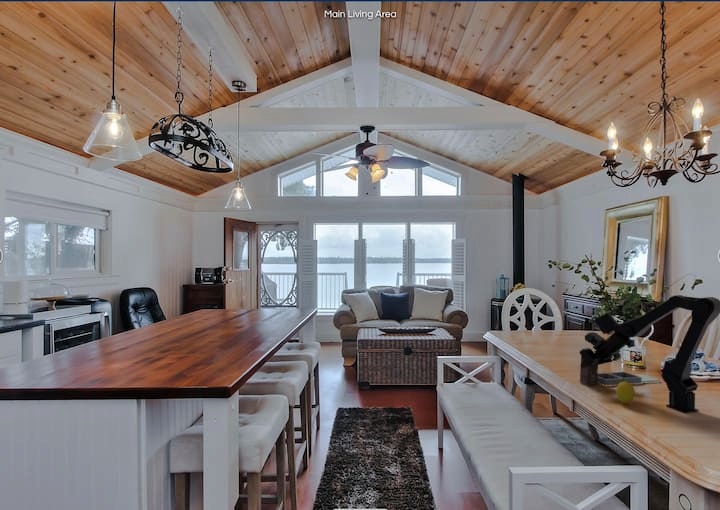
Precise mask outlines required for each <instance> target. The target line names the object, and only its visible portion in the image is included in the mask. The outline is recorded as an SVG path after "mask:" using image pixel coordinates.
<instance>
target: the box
mask: <svg viewBox="0 0 720 510" xmlns="http://www.w3.org/2000/svg"><path fill="white" fill-rule="evenodd" d="M583 359H584V358H583V357H582V356H581V355H580V364H581V363H582V361H583ZM596 364H597V365H593V366H589V367H585V368H581V367H580V370H579V371H580V373H579V383H580V384H583V385H586V386H591V385H595V384H598V383H597V380H598V373H599V365H598V363H596Z"/></svg>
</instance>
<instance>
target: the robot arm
mask: <svg viewBox="0 0 720 510" xmlns="http://www.w3.org/2000/svg"><path fill="white" fill-rule="evenodd" d="M678 309H683V310H687V311H691V313H690V314H691V322H690V325H689V326H688V329H687V331H686V333H685V336H684V338H683V339H682V342H681V344H680V347H679V349H678V351H677V353H676V355H675V357H674V358H672V359H668V360H665V361H664V364H663V365H664V366H663V368H662V369H661V370H660V372H661V378H662V380H663V381H664V382H665V384H666V387H667V389H668V393H669V394H668V404H665V406H666V407H667V408H670V409H672V410H675V411H678V412H681V413H685V414H686V413H696V412H699V411H700V410H699V409H698V408H696V393H695V392H696V391H697V388H698V387H699V384H698V383H696V381H695V380H694V379H693V378H692V377H691V375H692V362H693V359H694V357H695V356H696V354H697V351H698V349H699V346H700V344H701V342H702V340H703V338H704V336H705V334H706V331H707V329H708V327H709V326H710V325H711V324H712V323H713V322H714V320H716V319H717V318H718V317H719V315H720V300H719V299H718V298H717V297H713V296H707V297H706V296H705V297H694V296H687V295H685V296H684V295H680V294H676V295H670V297H669V298H668V299H666V300H665V301H663V302H661V303H660V304H659V305H657V306H655V307H654V308H652V309H651V310H649V311H647V312H646V313H644V314H643V315H641V316H638V317H636V318H632V319H630V320H627V321H625V322H618V321H617V320H616V319H615V318H614V317H613V315H612V314H611V313H610V312H605V313H604V314H602V315H601V316H599V317H596V318H595V319H594V320H593V324H594V325H595V326H596V327H597V328H598V329H599V330H600V332H601V333H602V334H603V335H608V337H607V338H604V337H602V336H601V335H600V334H598V333H596V332H593V331H592V332H588V333H586V334H585V335H584V340H585V342H587V343H589V344H590V345H592V348H593V349H592V348H590V347H589V348H582V349H581V350H580V351H579V354H580V357H581V356H582V357H583V358H584V359H583V361H582V363H581V362H580V365H579V368H580V369H581V368H585V367H589V366H593V365H597V364H596V363H598V366H599V365H604V364H608V363H609V364H610V363H612V362H616V361H619V360H620V359H621V358H622V357H621V350H622V349H623V348H625V347H627V348H634V347H636V344H635V339H632V338H637V337H641V336H642V335H644V334H645V333H646V332H648V330H649V329H650V328H651V326H653V325H654V324H655V323H657V322H658V321H661V320H662V319H663V318H665V317H667V316H669V315H670V314H672V313H673V312H675V311H677V310H678ZM593 350H594V351H593ZM694 391H695V392H694Z"/></svg>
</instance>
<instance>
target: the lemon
mask: <svg viewBox="0 0 720 510" xmlns="http://www.w3.org/2000/svg"><path fill="white" fill-rule="evenodd" d="M635 391H636V390H635V388H634V385H631V384H630V383H628V382H627V381H624V382H621V383H619V384H618V386H616V390H615V392H616V397H617V398H618V400H620V401H621V402H622V403H623V404H625V405H627V404H629V403H631V402H633V401H634V400H635V397H636V392H635Z"/></svg>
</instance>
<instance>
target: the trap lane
mask: <svg viewBox="0 0 720 510" xmlns="http://www.w3.org/2000/svg"><path fill="white" fill-rule="evenodd" d="M624 381H627V382H628V383H630V384H635V385H643V383H649V384H660V383H659V382H663V381H662V380H660V379H658V378H654V377H652V376H648V375H646V374H643V373H639V374H638V373H637V374H636V373H635V374H633V373H628V372H626V371H616V372H600V373H599V372H598V380H597V382H598V383H597V384H600V383H601V384H600V385H602V384H604V385H603V386H605V385H607V386H606V387H610V386H609V385H618V384H619V383H621V382H624Z"/></svg>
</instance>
